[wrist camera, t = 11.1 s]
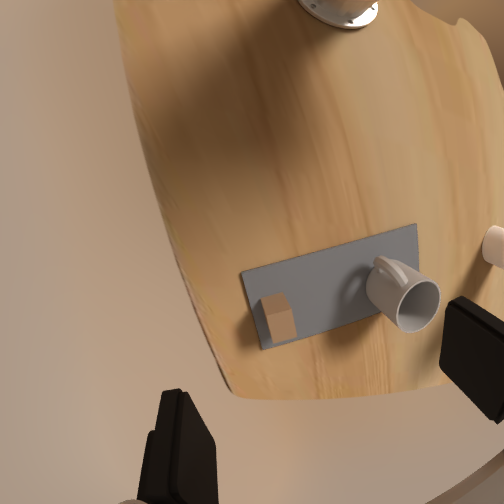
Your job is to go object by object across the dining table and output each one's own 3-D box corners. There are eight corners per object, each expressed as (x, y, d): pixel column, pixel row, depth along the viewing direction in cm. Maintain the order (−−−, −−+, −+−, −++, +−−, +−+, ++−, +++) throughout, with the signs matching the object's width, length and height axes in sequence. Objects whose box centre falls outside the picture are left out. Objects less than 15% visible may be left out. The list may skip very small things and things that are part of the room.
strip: (241, 271, 37) (244, 288, 32) (415, 223, 38) (437, 231, 33) (262, 348, 41) (268, 371, 35) (417, 295, 42) (437, 309, 36)
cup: (377, 313, 41) (408, 343, 32) (345, 266, 38) (377, 292, 30) (411, 282, 40) (446, 305, 32) (384, 232, 38) (422, 249, 29)
